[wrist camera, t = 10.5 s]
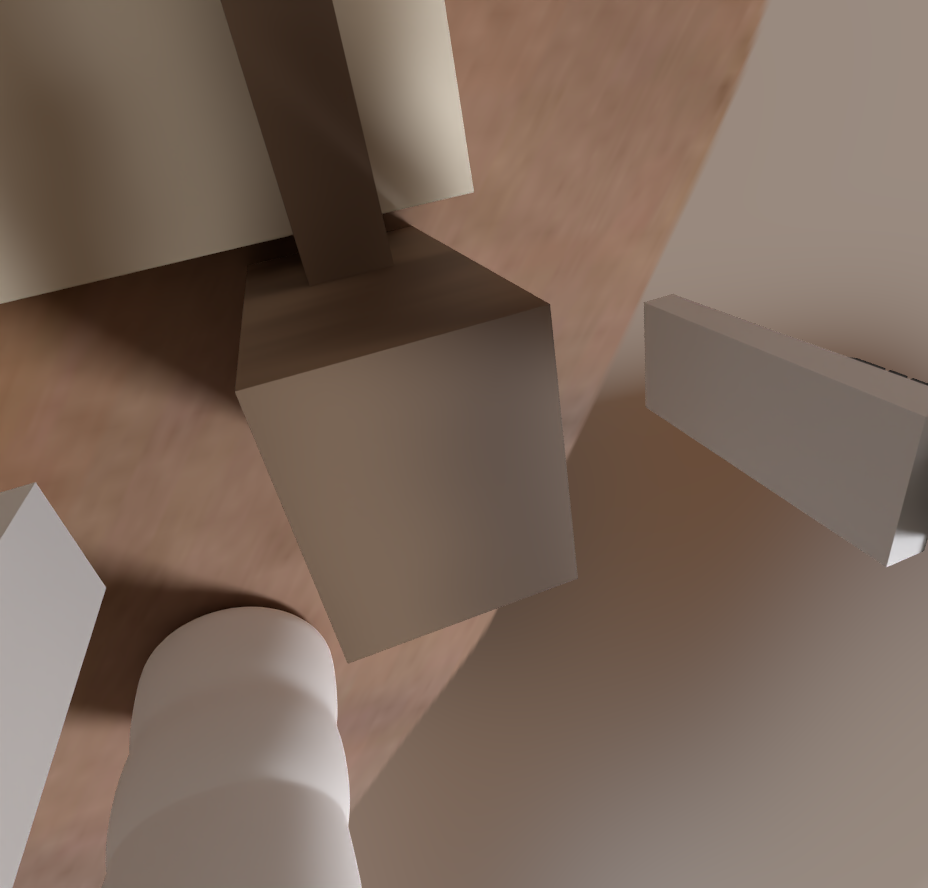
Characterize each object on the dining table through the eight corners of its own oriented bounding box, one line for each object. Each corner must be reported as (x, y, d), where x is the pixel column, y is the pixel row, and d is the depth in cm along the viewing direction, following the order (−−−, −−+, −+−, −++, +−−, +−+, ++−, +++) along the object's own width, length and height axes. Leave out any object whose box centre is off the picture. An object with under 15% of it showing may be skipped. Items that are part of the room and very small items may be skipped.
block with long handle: (310, 440, 20) (347, 663, 11) (117, -97, 13) (-158, -552, 4) (448, 399, 21) (577, 578, 12) (337, -125, 14) (462, -550, 5)
